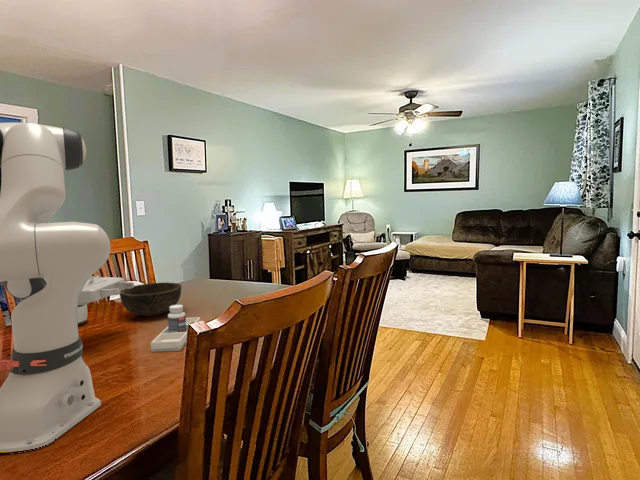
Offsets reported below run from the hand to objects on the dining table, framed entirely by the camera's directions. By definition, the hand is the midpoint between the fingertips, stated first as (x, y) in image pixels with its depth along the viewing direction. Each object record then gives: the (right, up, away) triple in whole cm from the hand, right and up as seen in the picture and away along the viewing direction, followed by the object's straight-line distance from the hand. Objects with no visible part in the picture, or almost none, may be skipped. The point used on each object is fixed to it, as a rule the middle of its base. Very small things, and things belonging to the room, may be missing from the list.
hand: (126, 288), depth 125 cm
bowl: (-4, -14, +30) cm, 33 cm away
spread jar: (-29, -16, +17) cm, 37 cm away
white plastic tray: (+15, -16, +3) cm, 22 cm away
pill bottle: (+15, -15, +2) cm, 21 cm away
